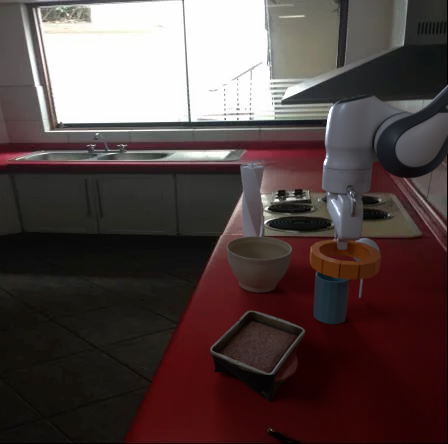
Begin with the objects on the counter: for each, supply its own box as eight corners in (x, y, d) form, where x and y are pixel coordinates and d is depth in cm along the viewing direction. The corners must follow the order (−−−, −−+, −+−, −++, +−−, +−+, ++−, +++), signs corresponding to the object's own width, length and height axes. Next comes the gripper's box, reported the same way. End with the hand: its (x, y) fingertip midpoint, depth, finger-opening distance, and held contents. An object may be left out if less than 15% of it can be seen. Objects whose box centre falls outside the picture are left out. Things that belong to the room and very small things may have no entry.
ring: (370, 254, 87) (372, 240, 86) (385, 281, 75) (387, 266, 74) (307, 251, 90) (308, 238, 89) (313, 277, 78) (314, 262, 77)
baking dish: (312, 374, 78) (315, 323, 77) (266, 417, 65) (268, 357, 64) (245, 351, 88) (246, 306, 86) (193, 385, 75) (193, 332, 73)
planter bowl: (284, 304, 99) (286, 262, 96) (219, 294, 106) (218, 254, 103) (294, 276, 113) (296, 239, 110) (236, 269, 120) (236, 233, 116)
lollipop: (375, 294, 101) (382, 236, 97) (373, 305, 96) (379, 245, 92) (347, 289, 104) (352, 233, 100) (344, 300, 100) (349, 241, 95)
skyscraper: (266, 247, 134) (268, 160, 125) (240, 247, 135) (240, 161, 127) (264, 238, 142) (265, 156, 133) (240, 238, 143) (240, 157, 135)
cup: (343, 309, 96) (346, 269, 92) (348, 325, 89) (351, 283, 86) (311, 307, 97) (314, 268, 94) (314, 322, 91) (317, 281, 88)
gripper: (375, 193, 72) (367, 267, 77) (354, 170, 91) (348, 230, 95) (336, 193, 74) (330, 265, 78) (323, 170, 93) (319, 229, 97)
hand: (340, 245), depth 87 cm, fingers closed on ring, 2 cm apart
